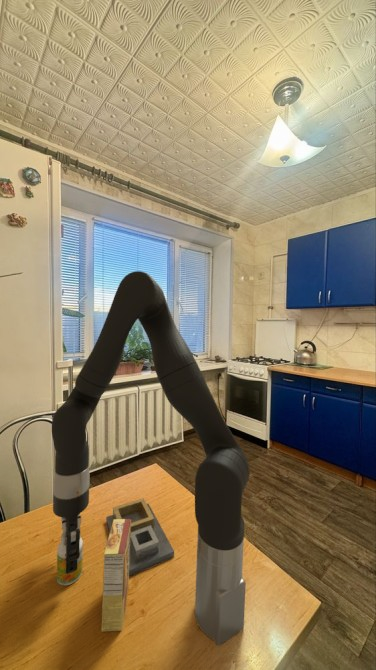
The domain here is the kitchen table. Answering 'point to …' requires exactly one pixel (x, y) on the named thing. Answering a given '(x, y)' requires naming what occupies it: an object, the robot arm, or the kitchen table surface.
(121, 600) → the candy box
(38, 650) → the kitchen table surface
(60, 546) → the supplement bottle
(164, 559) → the fitting plate
